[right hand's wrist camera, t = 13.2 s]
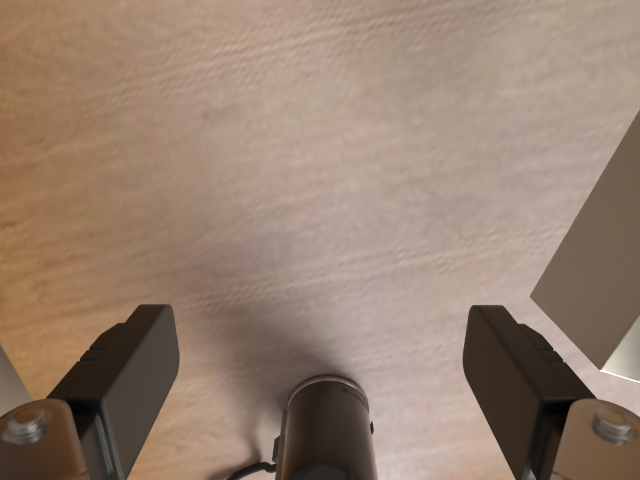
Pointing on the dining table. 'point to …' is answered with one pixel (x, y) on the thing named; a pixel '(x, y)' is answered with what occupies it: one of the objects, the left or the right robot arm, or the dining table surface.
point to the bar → (602, 268)
